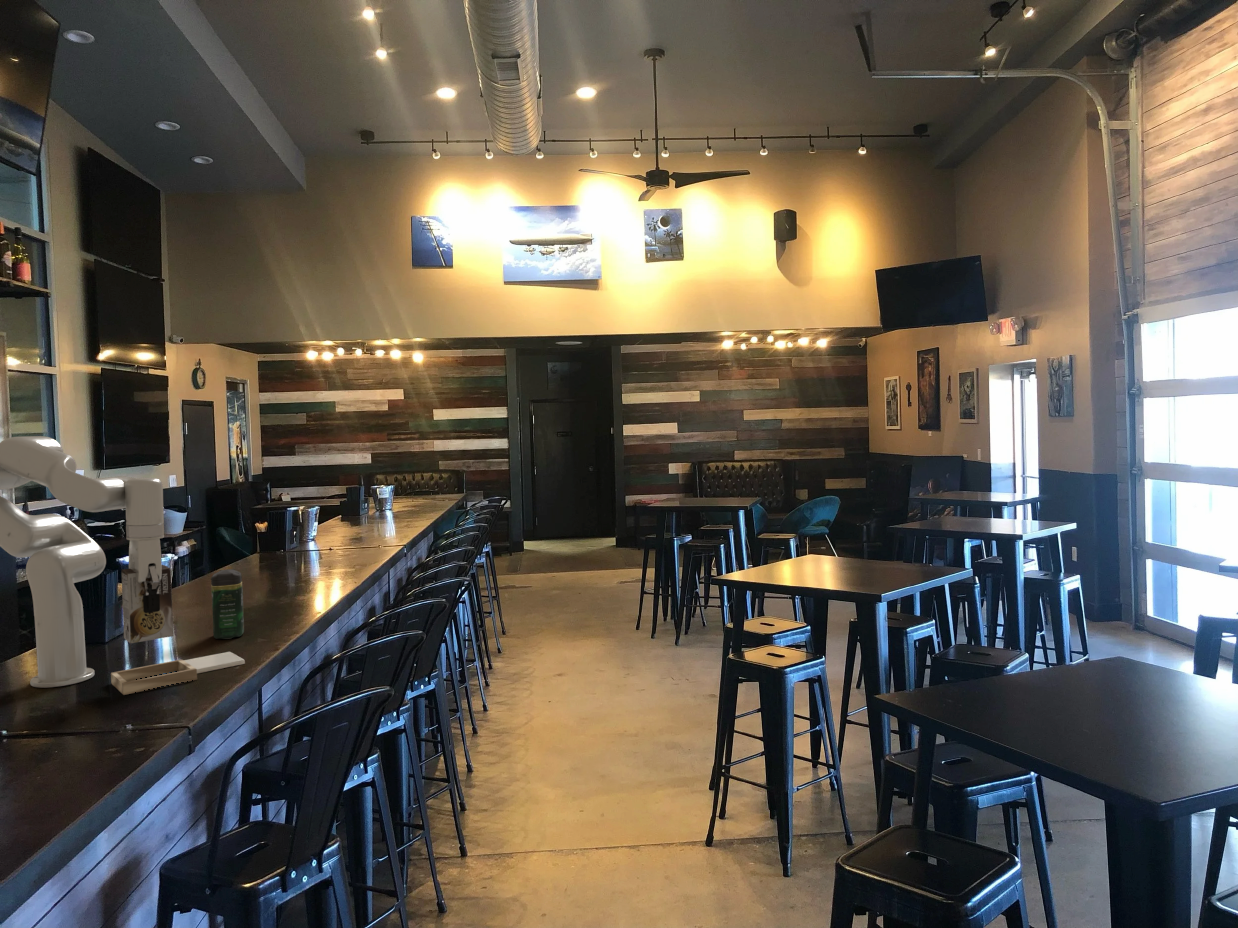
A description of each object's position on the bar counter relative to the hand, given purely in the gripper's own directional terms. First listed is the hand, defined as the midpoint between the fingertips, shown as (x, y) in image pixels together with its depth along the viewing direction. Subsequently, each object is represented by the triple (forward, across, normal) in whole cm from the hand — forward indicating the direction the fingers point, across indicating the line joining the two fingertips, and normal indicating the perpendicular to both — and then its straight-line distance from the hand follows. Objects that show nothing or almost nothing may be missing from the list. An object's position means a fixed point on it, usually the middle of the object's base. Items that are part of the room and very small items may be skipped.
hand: (147, 608), depth 195 cm
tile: (+17, -4, +15) cm, 23 cm away
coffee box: (+7, 0, 0) cm, 7 cm away
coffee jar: (+17, -32, +28) cm, 46 cm away
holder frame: (+17, +1, +1) cm, 17 cm away
